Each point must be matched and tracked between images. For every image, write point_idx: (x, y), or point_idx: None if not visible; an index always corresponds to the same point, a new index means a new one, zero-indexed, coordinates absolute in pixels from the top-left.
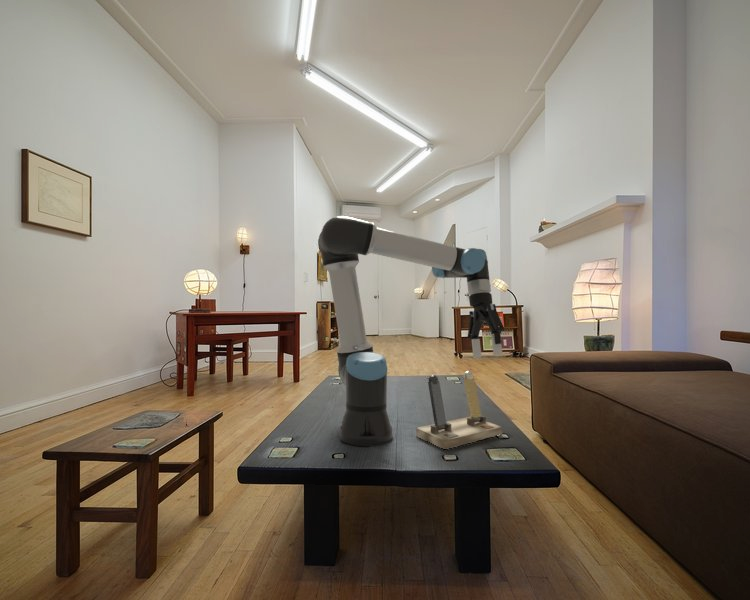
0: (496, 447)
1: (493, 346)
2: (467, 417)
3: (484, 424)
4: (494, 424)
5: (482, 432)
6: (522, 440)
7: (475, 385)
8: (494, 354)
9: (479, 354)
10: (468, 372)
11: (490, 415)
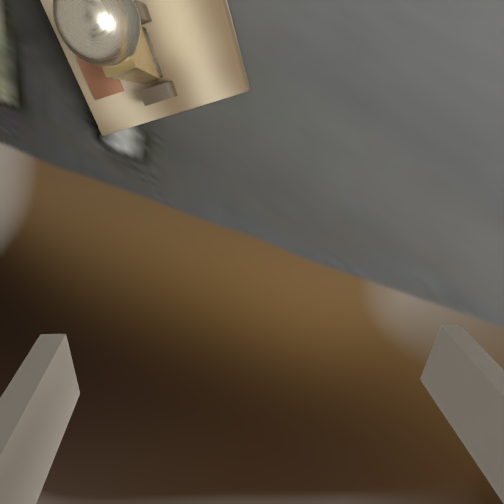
0: (14, 40)
1: (2, 407)
2: (234, 64)
3: (133, 83)
4: (130, 125)
5: (50, 19)
6: (78, 169)
7: (119, 79)
8: (41, 338)
9: (441, 389)
10: (57, 3)
11: (332, 231)
